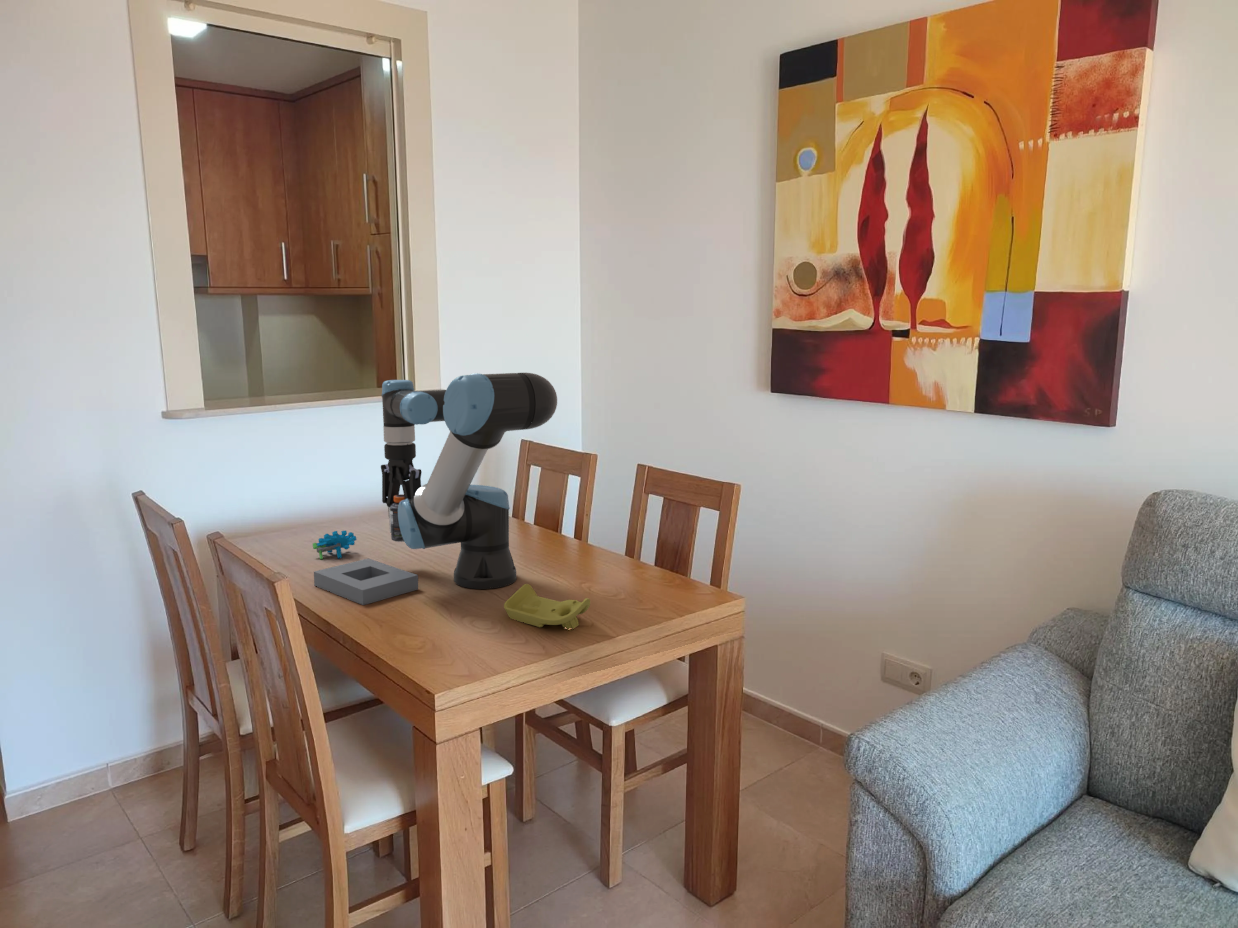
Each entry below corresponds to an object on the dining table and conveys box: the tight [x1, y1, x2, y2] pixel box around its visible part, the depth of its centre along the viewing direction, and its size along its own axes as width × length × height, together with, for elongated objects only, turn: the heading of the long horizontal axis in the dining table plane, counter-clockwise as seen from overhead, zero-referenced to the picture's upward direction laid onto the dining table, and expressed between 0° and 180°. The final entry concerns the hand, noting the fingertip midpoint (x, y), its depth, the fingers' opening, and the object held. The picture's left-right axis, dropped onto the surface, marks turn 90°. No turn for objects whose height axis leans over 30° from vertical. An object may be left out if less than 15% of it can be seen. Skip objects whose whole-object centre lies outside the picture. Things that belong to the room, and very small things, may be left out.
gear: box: [312, 530, 358, 560], centre depth 229 cm, size 11×6×10 cm
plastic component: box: [503, 583, 591, 630], centre depth 185 cm, size 20×7×10 cm
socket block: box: [313, 558, 419, 606], centre depth 205 cm, size 20×15×4 cm
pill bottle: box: [390, 493, 405, 543], centre depth 218 cm, size 6×6×11 cm
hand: (403, 533), depth 218 cm, fingers closed on pill bottle, 6 cm apart
